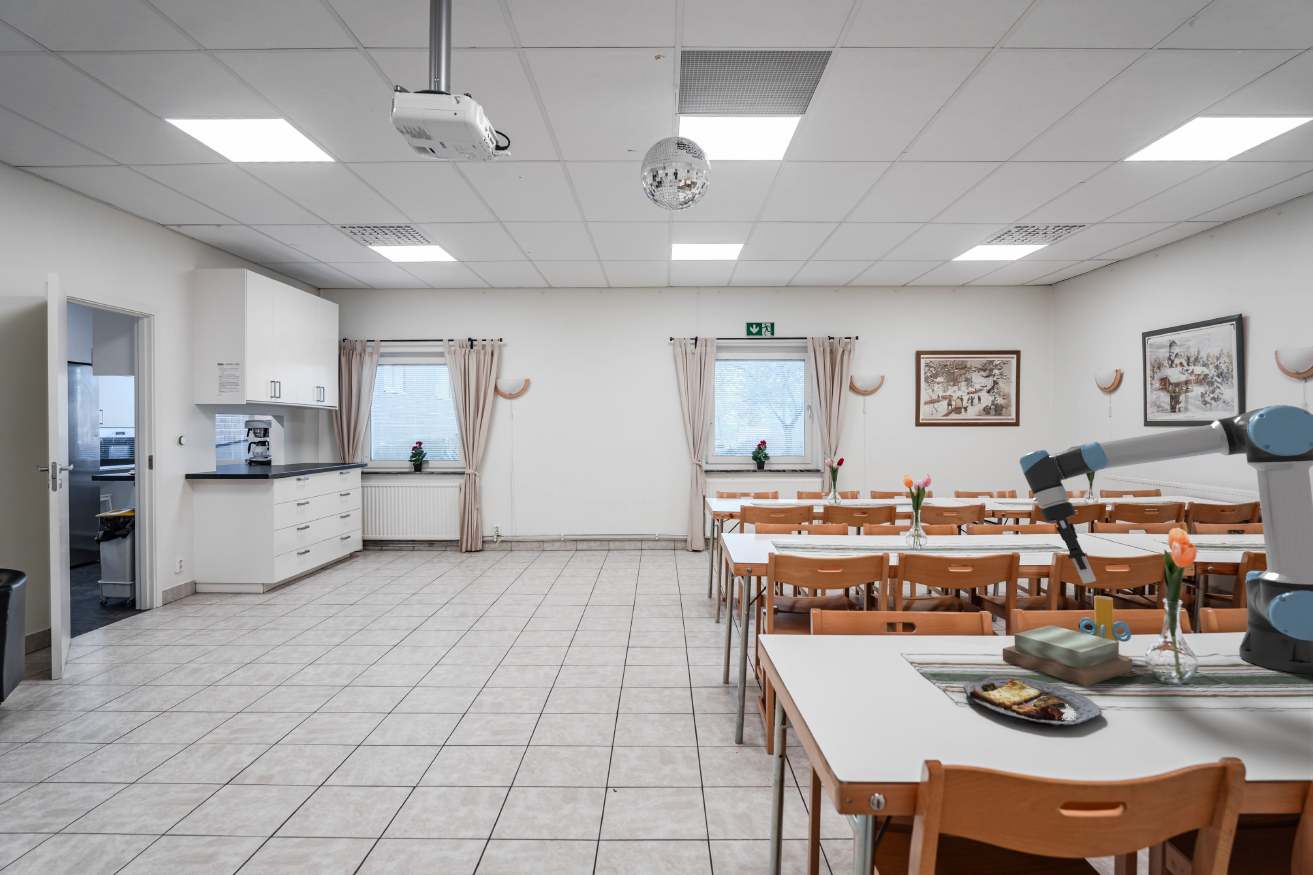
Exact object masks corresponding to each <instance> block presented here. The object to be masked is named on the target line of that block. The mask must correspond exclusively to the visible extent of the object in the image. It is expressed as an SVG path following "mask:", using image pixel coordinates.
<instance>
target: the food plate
mask: <svg viewBox="0 0 1313 875" xmlns="http://www.w3.org/2000/svg"><path fill="white" fill-rule="evenodd" d="M963 691H964V693H965V695H966V697H967V698H969V699H970V700H971V701H972V702H973V703H976V704H979V705H980V706H983V707H985V708H987V709H989V710H992V711H994V712H996V713H998V714H999V715H1001V714H1002V715H1004V716H1008V717H1011V718H1016V719H1020V720H1025V721H1030V722H1032V723H1035V724H1045V725H1047V724H1048V725H1049V726H1051V725H1052V726H1059V725H1060V724H1061V725H1062V724H1063V725H1064V726H1065V727H1066V726H1067V727H1068V726H1073V725H1080V724H1081V723H1084V722H1088V721H1089V720H1091V719H1095V717H1096V716H1098V715H1100V716H1103V710H1102V709H1101V706H1098V705H1097V704H1096V703H1095V702H1094V701H1093V700H1091V699H1090V698H1088V697H1087V696H1084V695H1082V694H1081V693H1079V692H1076V691H1075V690H1072V689H1068V688H1067V687H1065V686H1060V685H1056V684H1052V683H1050V682H1046V681H1040V680H1038V679H1037V680H1034V679H1031V678H1025V677H1020V676H1019V677H1018V676H1008V675H1007V676H1005V675H1004V676H1003V675H1002V676H990V675H988V676H982V677H978V678H976V679H974V680H971V681H969V682H968V683H967V682H966V683H965V684H964V685H963ZM1034 700H1035V701H1034ZM1032 704H1033V705H1032ZM1067 704H1068V705H1067ZM1064 706H1066V707H1067V706H1068V707H1069V709H1072V710H1073V712H1074V713H1076V715H1075V714H1074V715H1075V716H1073V717H1074V718H1071V719H1072V720H1071V719H1070V720H1066V719H1068V717H1066V718H1063V717H1064V716H1063V715H1065V713H1067V712H1066V711H1063V710H1062V709H1061V708H1064ZM1062 719H1063V720H1062ZM1073 719H1074V720H1073Z"/></svg>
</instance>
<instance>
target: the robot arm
mask: <svg viewBox="0 0 1313 875" xmlns="http://www.w3.org/2000/svg"><path fill="white" fill-rule="evenodd" d="M1219 453H1220V454H1221V455H1224V456H1231V455H1233V456H1234V455H1239V454H1240V455H1241V454H1244V455H1246V463H1247V464H1248V466H1250V467H1252V468H1253V469H1255V471H1256V473H1257V483H1258V494H1259V503H1260V512H1261V521H1262V522H1261V523H1262V532H1263V539H1264V551H1265V561H1266V568H1267V569H1266V570H1265V571H1264V570H1250V571H1248V572H1247V573H1246V576H1245V581H1244V583H1245V586H1246V588H1245V590H1246V611H1247V612H1246V613H1247V616H1246V617H1247V629H1246V632H1245V634H1244V637H1243V638H1242V640H1241V643H1240V645H1239V648H1238V649H1239V651H1238V652H1239V655H1238V656H1239V658H1240V657H1241V658H1240V659H1241V660H1243V659H1244V660H1243V661H1245V662H1247V661H1248V663H1250V664H1252V663H1254V664H1253V665H1255V664H1256V665H1257V666H1260V667H1263V668H1268V669H1271V670H1276V671H1282V672H1288V673H1293V674H1294V673H1295V674H1305V675H1313V494H1312V487H1311V477H1310V476H1311V475H1310V469H1311V467H1313V414H1312V412H1310V411H1308V410H1306V409H1304V408H1301V407H1298V406H1293V405H1287V404H1282V405H1281V404H1277V405H1270V406H1265V407H1261V408H1257V409H1253V410H1250V411H1248V412H1244V413H1241V414H1238V415H1237V414H1236V415H1233V416H1229V417H1226V418H1220V419H1215V420H1213V421H1212V423H1211V424H1206V425H1201V426H1195V427H1188V428H1182V429H1176V430H1171V431H1164V432H1159V433H1157V432H1156V433H1153V434H1147V435H1140V436H1133V437H1128V438H1127V437H1126V438H1122V439H1116V440H1115V439H1114V440H1110V441H1105V442H1097V441H1092V442H1088V443H1084V444H1081V445H1077V446H1072V447H1069V448H1068V449H1065V450H1063V451H1061V452H1057V453H1053V454H1050V453H1049V452H1048V451H1047V450H1045V449H1041V450H1037V451H1032V452H1029V453H1027V454H1025V455H1023V456H1021V457H1020V459H1019V465H1020V467H1021V469H1022V472H1023V475H1024V477H1025V479H1026V481H1027V482H1026V483H1027V484H1028V485H1029V488H1030V490H1031V492H1032V494H1033V496H1034V498H1033V502H1034V503H1035V502H1036V503H1037V505H1038V507H1039V508H1040V509H1041V514H1042V517H1043V519H1044V522H1046V523H1053V522H1056V526H1057V527H1055V528H1056V531H1057V533H1058V534H1059V535H1060V538H1061V539H1062V541H1064V542H1065V545H1066V547H1067V550H1068V554H1067V557H1068V559H1069V560H1071V559H1072V562H1073V564H1074V566H1075V569H1076V570H1077V573H1078V574H1079V575H1078V576H1079V577H1080V579H1081V581H1082V584H1083V585H1084V584H1089V583H1093V582H1096V581H1097V578H1096V576H1095V574H1094V572H1093V570H1092V568H1091V565H1090V564H1089V561H1088V558H1087V557H1088V553H1087V552H1084V551H1083V549H1082V547H1081V544H1080V543H1079V541H1078V535H1077V533H1076V528H1075V526H1074V524H1073V523H1070V522H1069V520H1068V518H1072V517H1075V516H1076V514H1077V512H1076V510H1075V508H1074V506H1073V504H1072V503H1071V502H1069V501H1070V497H1069V495H1068V493H1067V491H1066V490H1067V489H1066V488H1065V486H1064V485H1063V483H1062V481H1064V480H1068V479H1072V478H1075V477H1078V476H1083V475H1087V474H1089V473H1092V472H1097V471H1100V470H1106V469H1112V468H1119V467H1126V466H1134V465H1142V464H1148V463H1154V462H1155V463H1156V462H1163V461H1169V460H1175V459H1185V458H1191V457H1196V456H1197V457H1198V456H1204V455H1210V454H1211V455H1212V454H1219ZM1256 665H1255V666H1256Z"/></svg>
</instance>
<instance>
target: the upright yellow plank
mask: <svg viewBox="0 0 1313 875" xmlns="http://www.w3.org/2000/svg"><path fill="white" fill-rule="evenodd" d="M1113 601H1114V600H1113V597H1111V596H1104V595H1094V596H1093V602H1094V619H1092V618H1091V617H1083V618H1081V619H1080V621H1079V632H1081V633H1085V634H1089V635H1093V636H1097V637H1101V638H1105V639H1109V640H1114V641H1118V655H1119V656H1120V645H1119V644H1120V643H1119V641H1120V642H1124V643H1125V642H1128V641H1130V640H1131V638H1132V633H1131V631H1130V628H1129V626H1128V624H1127V623H1125V622H1124V621H1115V622H1114V602H1113ZM1087 625H1091V626H1092V629H1091V630H1088V629H1086V628H1085V626H1087ZM1117 629H1123V630H1124V632H1123V633H1122V634H1120V633H1119V634H1118V633H1117V632H1116V631H1117Z"/></svg>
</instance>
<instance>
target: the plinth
mask: <svg viewBox="0 0 1313 875" xmlns="http://www.w3.org/2000/svg"><path fill="white" fill-rule="evenodd" d="M1085 633H1086V632H1085ZM1085 633H1081V632H1080V631H1076V630H1072V629H1068V628H1063V627H1059V626H1057V625H1053V624H1052V625H1046V626H1042V627H1041V626H1040V627H1037V628H1035V629H1029V630H1025V631H1022V632H1018V633H1017V632H1016V633H1014V634H1013V635H1014V645H1010V646H1007V647H1003V648H1002V661H1004V662H1009V663H1011V664H1015V665H1018V666H1021V667H1024V668H1027V669H1030V670H1033V671H1036V672H1039V673H1043V674H1046V675H1049V676H1053V677H1055V678H1059V679H1061V680H1065V681H1068V682H1072V683H1075V684H1076V685H1077V684H1078V685H1079V686H1080V685H1081V686H1084V687H1089V686H1093V685H1095V684H1097V683H1101V682H1104V681H1107V680H1110V679H1113V678H1116V677H1119V676H1121V675H1124V674H1127V673H1128V674H1129V673H1131V672H1133V658H1130V657H1127V656H1123V655H1120V654H1119V655H1118V641H1114V640H1109V639H1105V638H1101V637H1097V636H1093V635H1089V633H1086V634H1085Z"/></svg>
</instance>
